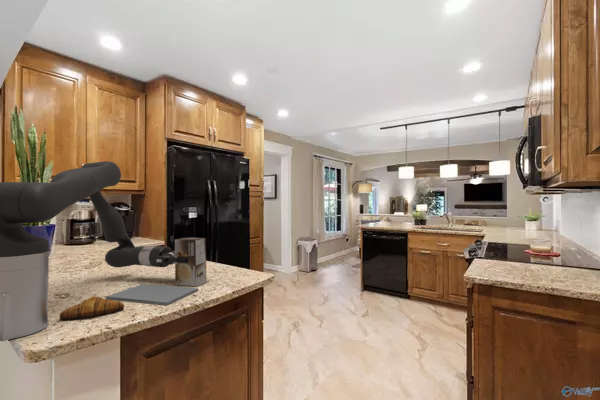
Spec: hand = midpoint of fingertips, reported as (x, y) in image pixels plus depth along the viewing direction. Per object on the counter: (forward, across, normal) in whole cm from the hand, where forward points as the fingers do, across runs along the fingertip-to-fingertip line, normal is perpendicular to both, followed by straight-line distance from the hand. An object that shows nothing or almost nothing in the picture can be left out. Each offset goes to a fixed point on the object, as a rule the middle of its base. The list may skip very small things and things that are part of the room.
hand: (194, 258), depth 101 cm
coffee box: (-1, 0, +9) cm, 9 cm away
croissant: (-7, -31, +10) cm, 33 cm away
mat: (-4, -14, +9) cm, 17 cm away
